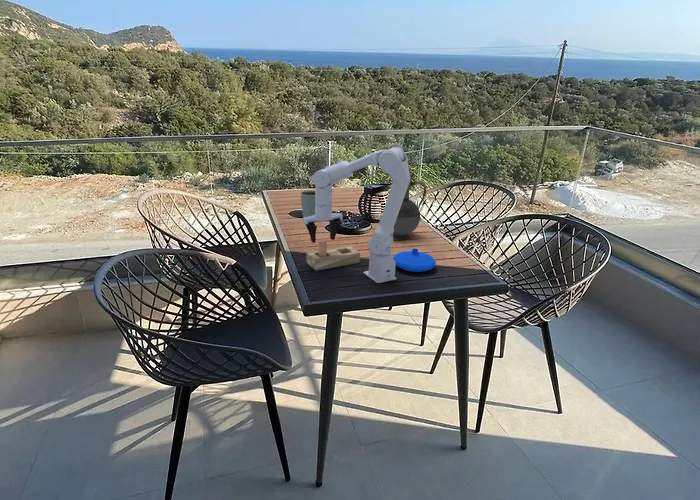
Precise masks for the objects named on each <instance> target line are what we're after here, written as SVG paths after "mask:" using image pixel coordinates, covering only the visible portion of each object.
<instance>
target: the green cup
mask: <svg viewBox="0 0 700 500" xmlns="http://www.w3.org/2000/svg"><path fill="white" fill-rule="evenodd" d="M300 200H301V201H300V202H301V211H302V219H303V218H304V217H309V216H312V215H315V190H304V191H301V192H300Z"/></svg>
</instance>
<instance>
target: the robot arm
mask: <svg viewBox="0 0 700 500" xmlns="http://www.w3.org/2000/svg"><path fill="white" fill-rule="evenodd" d="M408 158H409V157H408V156H407V154H406V152H405V151H404V149H402V148H401V147H398V146H393V147H391V148H389V149H388V148H386V149H381V150H377V151H373V152H371V153H369V154H367V155H364V156H362V157H360V158H357V159H356V160H352V161H350V162H349V161H348V160H341V159H340V160H337V161H336V163H334V164H332V165H326V166H325V167H324V168H322V169H319V170H317V171H315V172H314V173H313V176H312V182H313V184H314V186H315V187H314V188H315V190H314V191H315V215H312V216H309V217H304V218H303V217H302V219H303V220H302V221H303V224H304V225H305V226H306V229H307V231H308V234H309V237H310V241H311V243H312V244H315V243H316V240H317V239H316V238H317V237H316V235H317V228H318V226H317V225H316V223H320V222H321V223H322V222H329V238H330V239H331V240H332V241H335V240H336V235H337V232H338V230H339V228H340V226H342V221H341V220H343V219H344V218H343V217H344V216H343V213H341V212H337V213H334V212H333V213H332V211H333V210H332V206H333V204H332V203H333V201H332V200H333V184H336V183H338V182H340V181H342V180H346V179H348V178H349V179H350V177H351V176H352V175H353V172H355V171H358V170H361V169H363V168H366V167H367V168H368V167H369V166H373V167H376V168H378V167H380V168H381V169H382V170H383V171H384V172H385V173H387V175H388V176H389V177H390V179H391V180H392V184H391V188H390V189H389V193H388V195H387V199H386V202H385V205H384V209H383V212H382V215H381V217H380V220H379V223H378V226H377V227H376V229H375V231H374V233H373V235H372V237H370V239H369V240H368V242H367V247H368V251H369V256H368V257H369V259H368V270H365V271H363V275H365V276H367V277H368V278H369V279H371V280H372V281H373V282H374V283H377V284H381V283H385V282H390V281H395V280H397V277H396V267H397V266H396V262H395V260H394V259H393V256H392V250H391V245H393V243H394V238H393V232H394V228H393V227H394V225H395V222H396V219H397V216H398V213H399V210H400V207H401V205H402V202H403V199H404V196H405V193H406V190H407V188H408V185H409V182H410V173H409V168H410V167H409V163H408V161H409V159H408Z"/></svg>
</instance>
